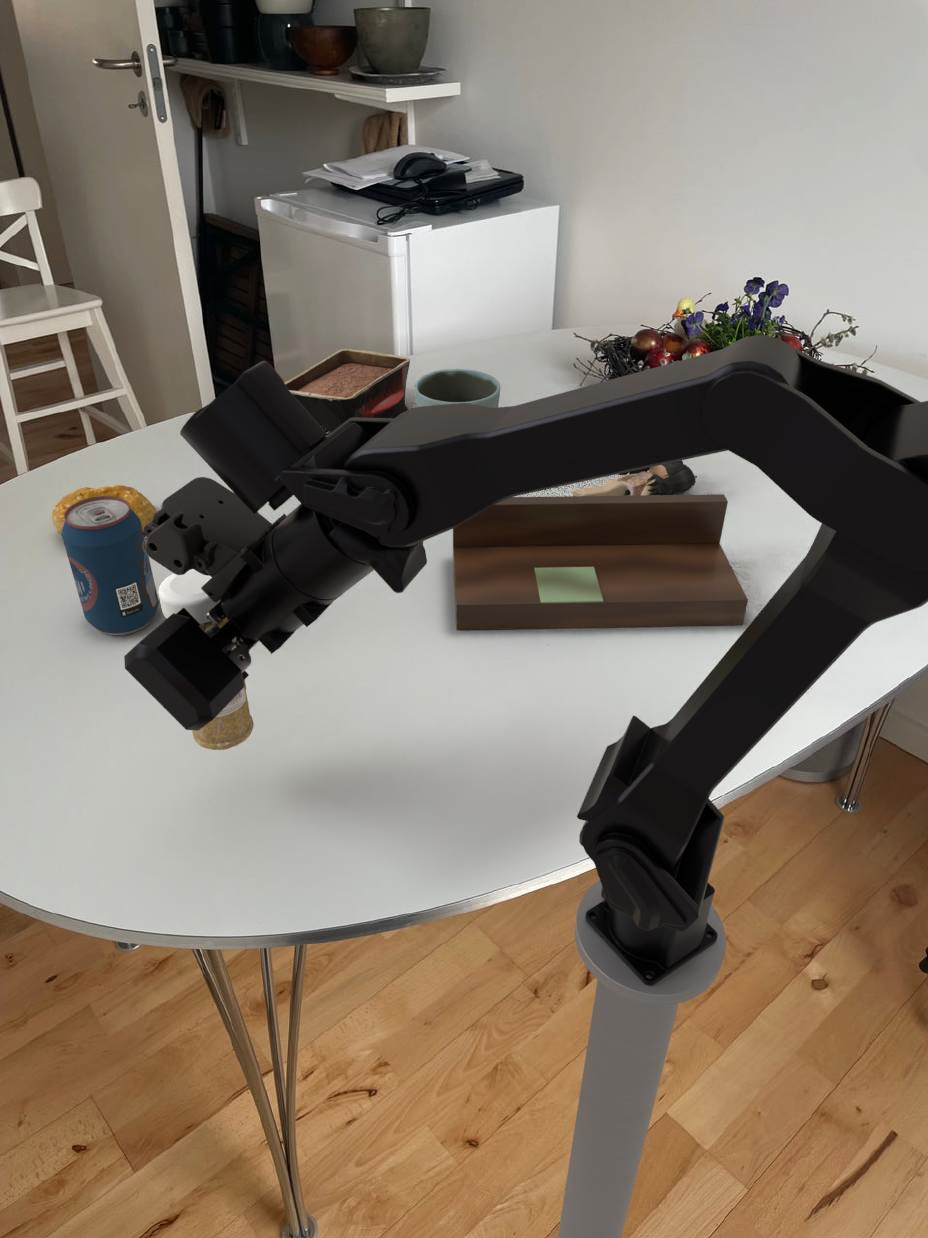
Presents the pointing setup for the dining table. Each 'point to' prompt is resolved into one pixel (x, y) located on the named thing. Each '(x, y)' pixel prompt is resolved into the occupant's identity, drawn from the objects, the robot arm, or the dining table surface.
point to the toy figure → (646, 482)
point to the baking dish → (352, 387)
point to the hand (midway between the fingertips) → (193, 658)
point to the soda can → (110, 564)
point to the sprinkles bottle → (235, 717)
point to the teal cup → (457, 388)
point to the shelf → (595, 564)
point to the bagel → (130, 494)
